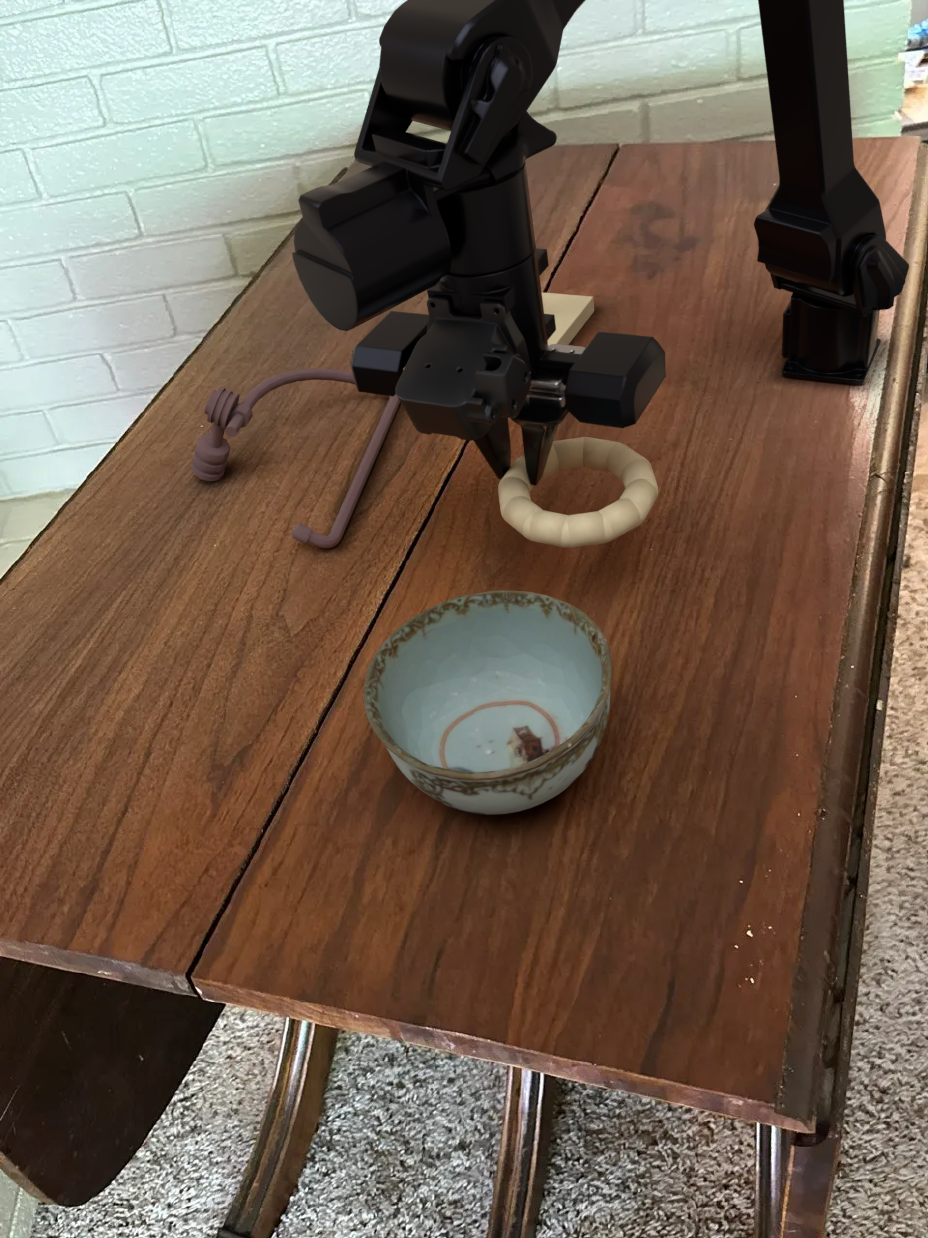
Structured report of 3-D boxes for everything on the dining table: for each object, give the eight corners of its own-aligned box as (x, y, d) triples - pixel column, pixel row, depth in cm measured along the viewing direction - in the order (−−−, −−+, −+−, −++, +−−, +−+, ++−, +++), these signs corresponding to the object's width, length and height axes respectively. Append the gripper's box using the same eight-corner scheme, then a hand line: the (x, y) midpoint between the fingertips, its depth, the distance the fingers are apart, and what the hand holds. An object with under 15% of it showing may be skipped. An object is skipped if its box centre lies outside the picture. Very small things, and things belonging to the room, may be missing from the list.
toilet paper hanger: (340, 540, 79) (159, 463, 77) (311, 610, 85) (142, 540, 83) (409, 380, 94) (259, 312, 92) (380, 449, 100) (239, 387, 98)
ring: (678, 470, 71) (678, 445, 69) (623, 567, 65) (621, 542, 63) (538, 446, 75) (536, 422, 74) (474, 535, 69) (470, 510, 68)
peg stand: (594, 311, 100) (588, 244, 96) (555, 361, 95) (547, 292, 91) (507, 303, 104) (498, 238, 100) (465, 351, 99) (454, 285, 95)
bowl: (666, 811, 59) (660, 714, 53) (436, 905, 57) (406, 814, 52) (566, 654, 69) (552, 558, 63) (366, 729, 67) (335, 637, 61)
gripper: (270, 309, 59) (338, 529, 70) (584, 341, 51) (608, 585, 62) (371, 220, 66) (420, 433, 77) (664, 236, 58) (673, 472, 69)
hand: (520, 479), depth 71 cm, fingers closed on ring, 2 cm apart
